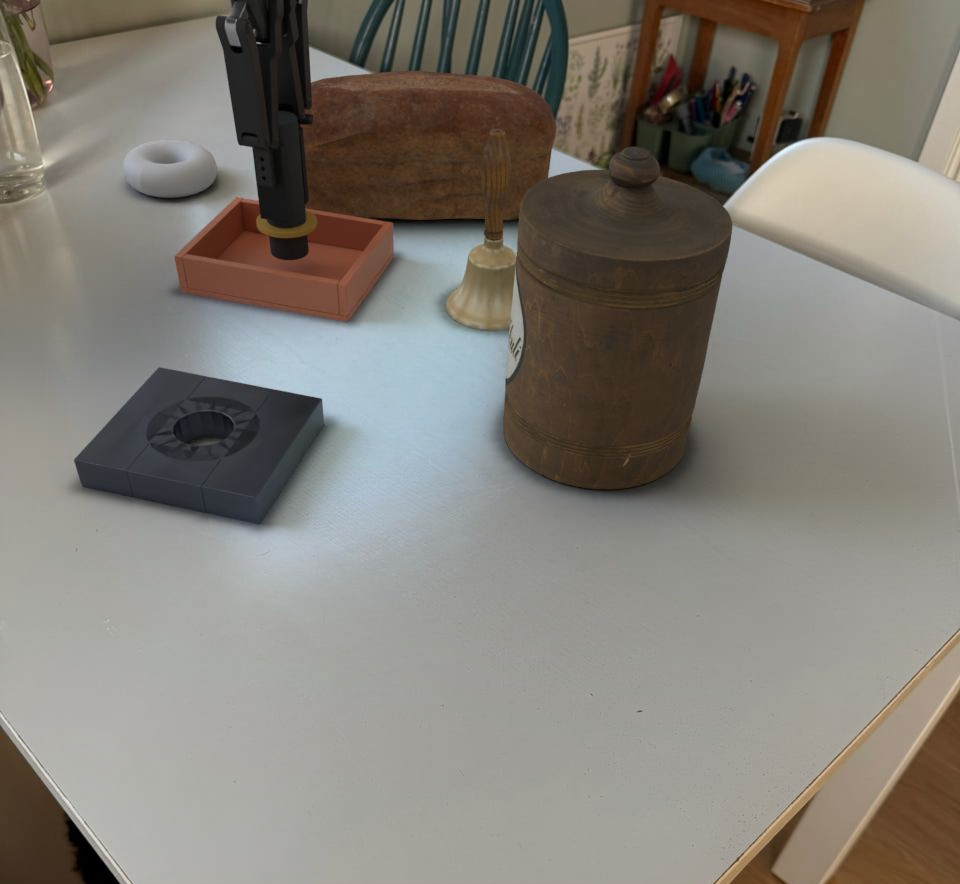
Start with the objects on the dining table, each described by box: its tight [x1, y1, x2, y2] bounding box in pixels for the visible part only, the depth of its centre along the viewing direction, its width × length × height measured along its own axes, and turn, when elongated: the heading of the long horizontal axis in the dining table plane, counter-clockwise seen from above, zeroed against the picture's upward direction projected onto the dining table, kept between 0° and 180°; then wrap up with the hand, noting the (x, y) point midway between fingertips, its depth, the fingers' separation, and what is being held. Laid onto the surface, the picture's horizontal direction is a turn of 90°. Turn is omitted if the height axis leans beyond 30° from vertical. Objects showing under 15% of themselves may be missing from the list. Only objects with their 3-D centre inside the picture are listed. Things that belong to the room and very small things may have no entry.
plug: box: [256, 111, 317, 260], centre depth 89 cm, size 6×6×12 cm
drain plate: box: [73, 366, 325, 525], centre depth 75 cm, size 14×13×2 cm
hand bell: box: [445, 129, 517, 332], centre depth 87 cm, size 8×8×16 cm
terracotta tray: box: [173, 196, 395, 323], centre depth 94 cm, size 17×14×4 cm
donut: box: [122, 139, 218, 199], centre depth 107 cm, size 10×4×10 cm
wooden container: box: [502, 146, 733, 490], centre depth 72 cm, size 15×15×22 cm
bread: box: [301, 70, 557, 221], centre depth 103 cm, size 14×28×12 cm, turn 96°
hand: (285, 208), depth 91 cm, fingers closed on plug, 4 cm apart
